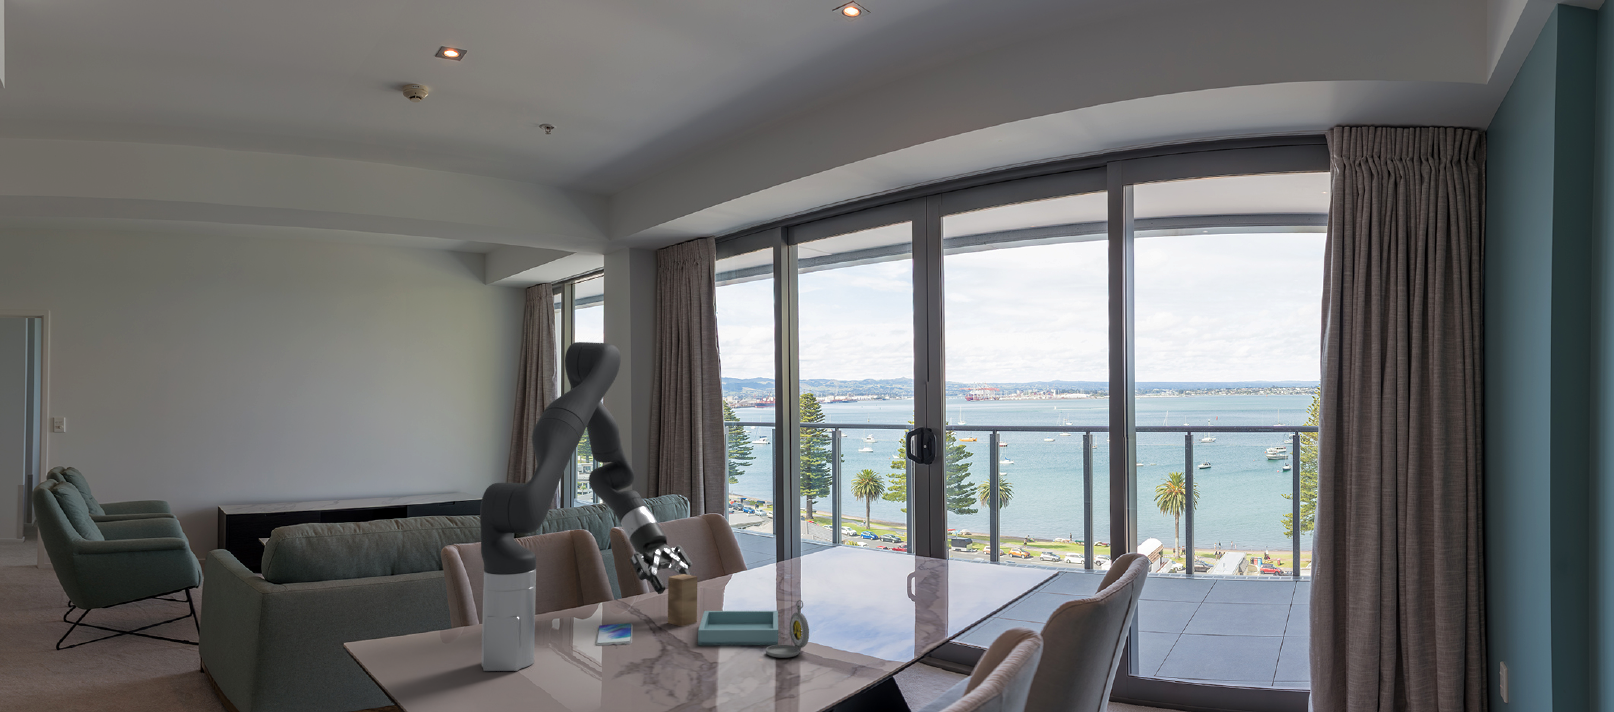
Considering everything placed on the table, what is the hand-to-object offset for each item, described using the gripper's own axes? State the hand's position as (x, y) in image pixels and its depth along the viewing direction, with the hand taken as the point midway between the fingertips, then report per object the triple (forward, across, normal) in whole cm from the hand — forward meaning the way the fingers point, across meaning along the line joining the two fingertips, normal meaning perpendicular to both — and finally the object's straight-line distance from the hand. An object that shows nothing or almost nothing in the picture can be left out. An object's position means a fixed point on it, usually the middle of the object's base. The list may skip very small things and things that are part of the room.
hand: (677, 588), depth 195 cm
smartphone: (+4, -16, +6) cm, 18 cm away
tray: (+18, +1, -8) cm, 20 cm away
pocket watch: (+30, -3, -20) cm, 36 cm away
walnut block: (+6, 0, +4) cm, 7 cm away
